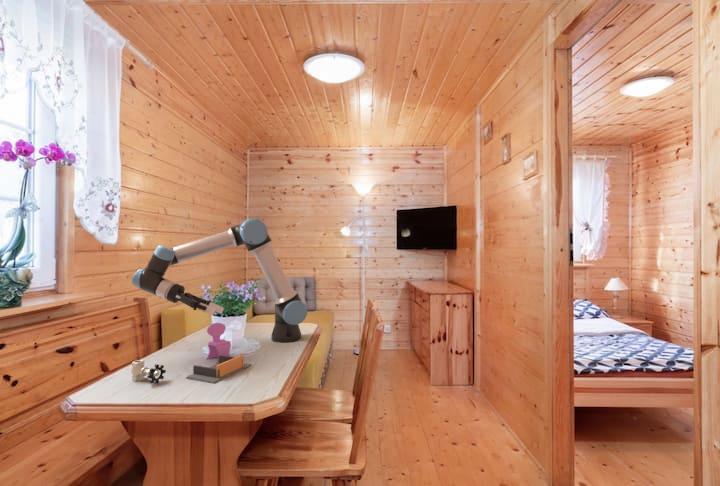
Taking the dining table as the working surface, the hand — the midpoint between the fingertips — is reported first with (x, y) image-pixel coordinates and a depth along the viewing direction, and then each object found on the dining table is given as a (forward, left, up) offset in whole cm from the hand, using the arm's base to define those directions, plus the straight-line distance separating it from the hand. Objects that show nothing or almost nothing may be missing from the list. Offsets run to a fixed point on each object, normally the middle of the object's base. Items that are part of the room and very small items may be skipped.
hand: (218, 311), depth 152 cm
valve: (+27, -8, -21) cm, 35 cm away
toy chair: (-2, -2, -21) cm, 21 cm away
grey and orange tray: (+10, +9, -21) cm, 25 cm away
